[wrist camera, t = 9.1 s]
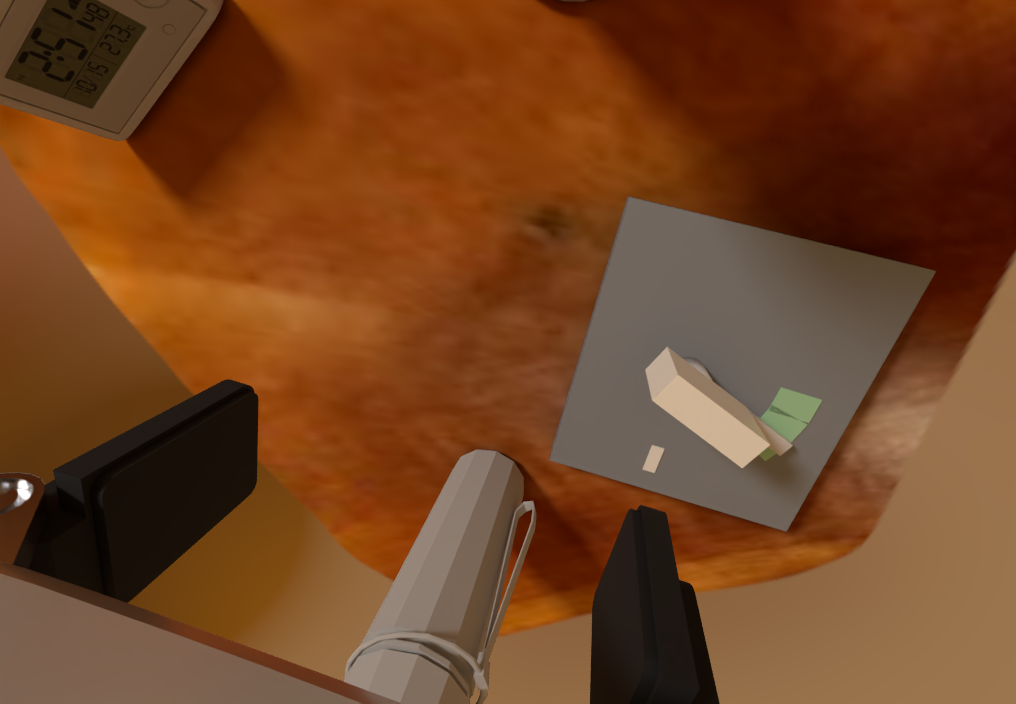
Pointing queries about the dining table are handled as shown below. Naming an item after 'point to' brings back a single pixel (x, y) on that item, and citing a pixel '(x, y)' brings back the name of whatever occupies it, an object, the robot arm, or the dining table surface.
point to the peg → (710, 409)
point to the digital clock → (96, 57)
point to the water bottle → (449, 591)
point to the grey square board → (730, 354)
